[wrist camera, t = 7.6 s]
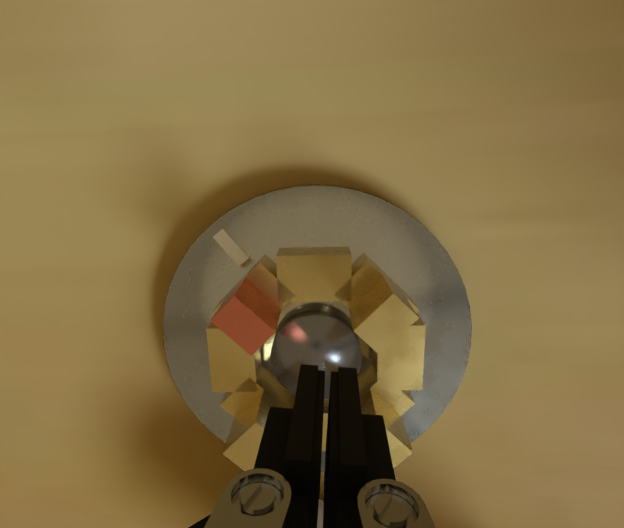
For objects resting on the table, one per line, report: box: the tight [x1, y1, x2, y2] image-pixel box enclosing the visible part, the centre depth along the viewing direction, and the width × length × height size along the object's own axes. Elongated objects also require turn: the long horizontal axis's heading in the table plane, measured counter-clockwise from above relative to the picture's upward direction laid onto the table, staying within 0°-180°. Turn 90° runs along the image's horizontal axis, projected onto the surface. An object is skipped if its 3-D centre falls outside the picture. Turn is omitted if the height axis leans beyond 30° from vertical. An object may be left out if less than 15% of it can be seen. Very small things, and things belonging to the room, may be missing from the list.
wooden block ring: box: [206, 246, 426, 471], centre depth 25 cm, size 14×14×6 cm
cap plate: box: [163, 185, 472, 471], centre depth 28 cm, size 22×22×4 cm
